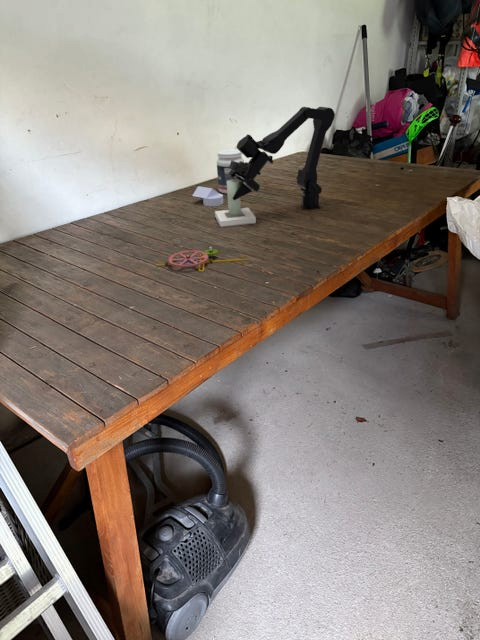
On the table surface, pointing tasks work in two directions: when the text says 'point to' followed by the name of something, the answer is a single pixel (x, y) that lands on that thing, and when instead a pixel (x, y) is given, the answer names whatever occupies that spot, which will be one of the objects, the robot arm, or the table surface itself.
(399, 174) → the table surface
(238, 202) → the green post
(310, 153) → the robot arm
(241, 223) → the socket block
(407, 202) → the table surface
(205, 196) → the wedge on round base
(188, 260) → the mechanical gear assembly
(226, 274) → the table surface
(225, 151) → the supplement tub
